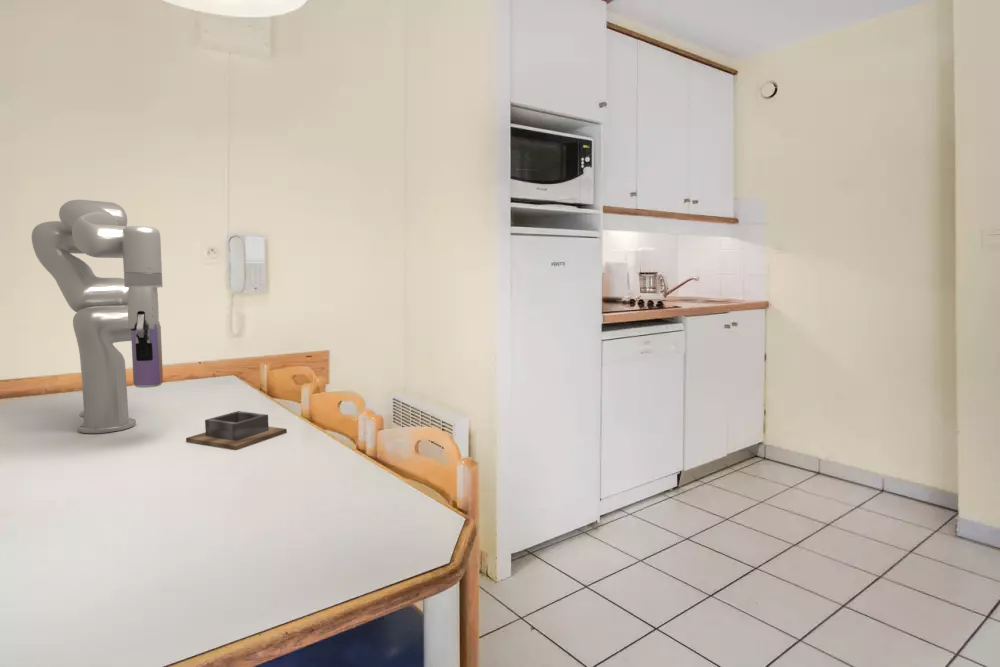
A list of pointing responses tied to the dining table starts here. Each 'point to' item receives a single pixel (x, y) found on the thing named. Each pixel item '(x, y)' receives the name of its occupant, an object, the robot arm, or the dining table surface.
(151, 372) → the beverage can
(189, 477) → the dining table surface
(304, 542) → the dining table surface
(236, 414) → the can holder
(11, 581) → the dining table surface
